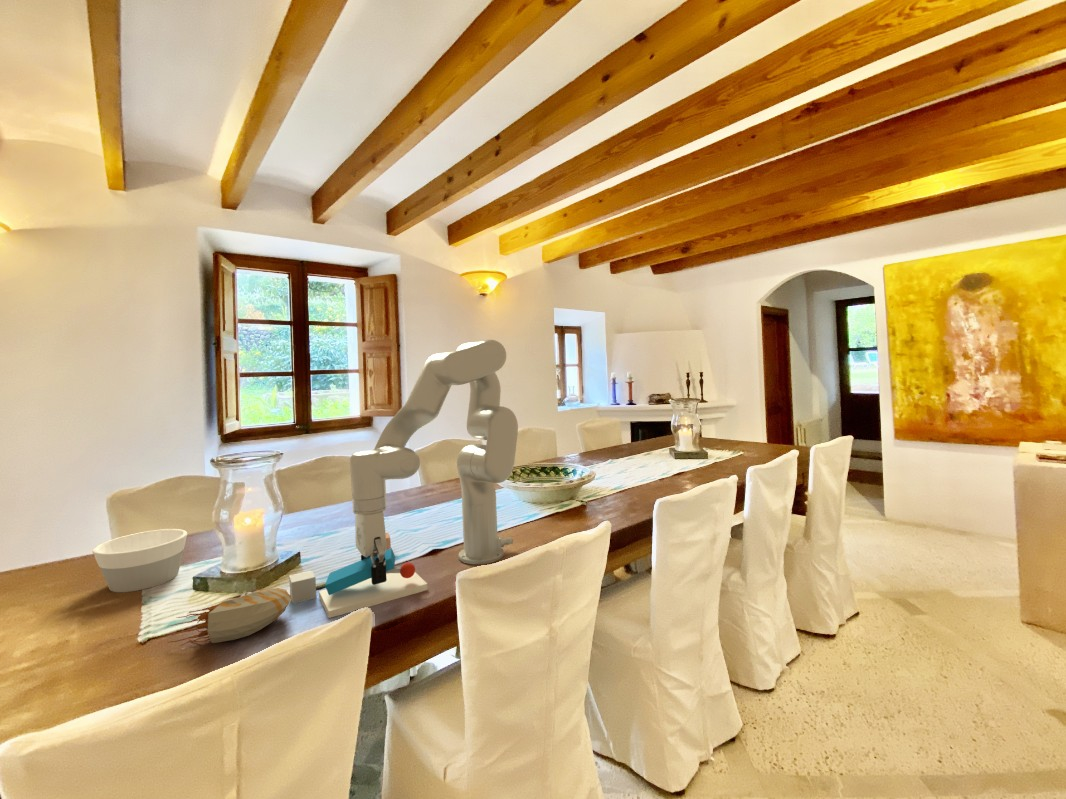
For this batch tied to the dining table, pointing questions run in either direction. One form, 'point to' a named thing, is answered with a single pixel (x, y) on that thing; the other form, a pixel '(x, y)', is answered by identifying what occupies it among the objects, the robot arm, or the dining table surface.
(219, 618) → the nautilus
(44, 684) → the dining table surface
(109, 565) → the bowl
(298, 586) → the grey block
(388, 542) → the terracotta block
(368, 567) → the lever
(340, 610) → the board
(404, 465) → the robot arm
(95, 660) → the dining table surface
